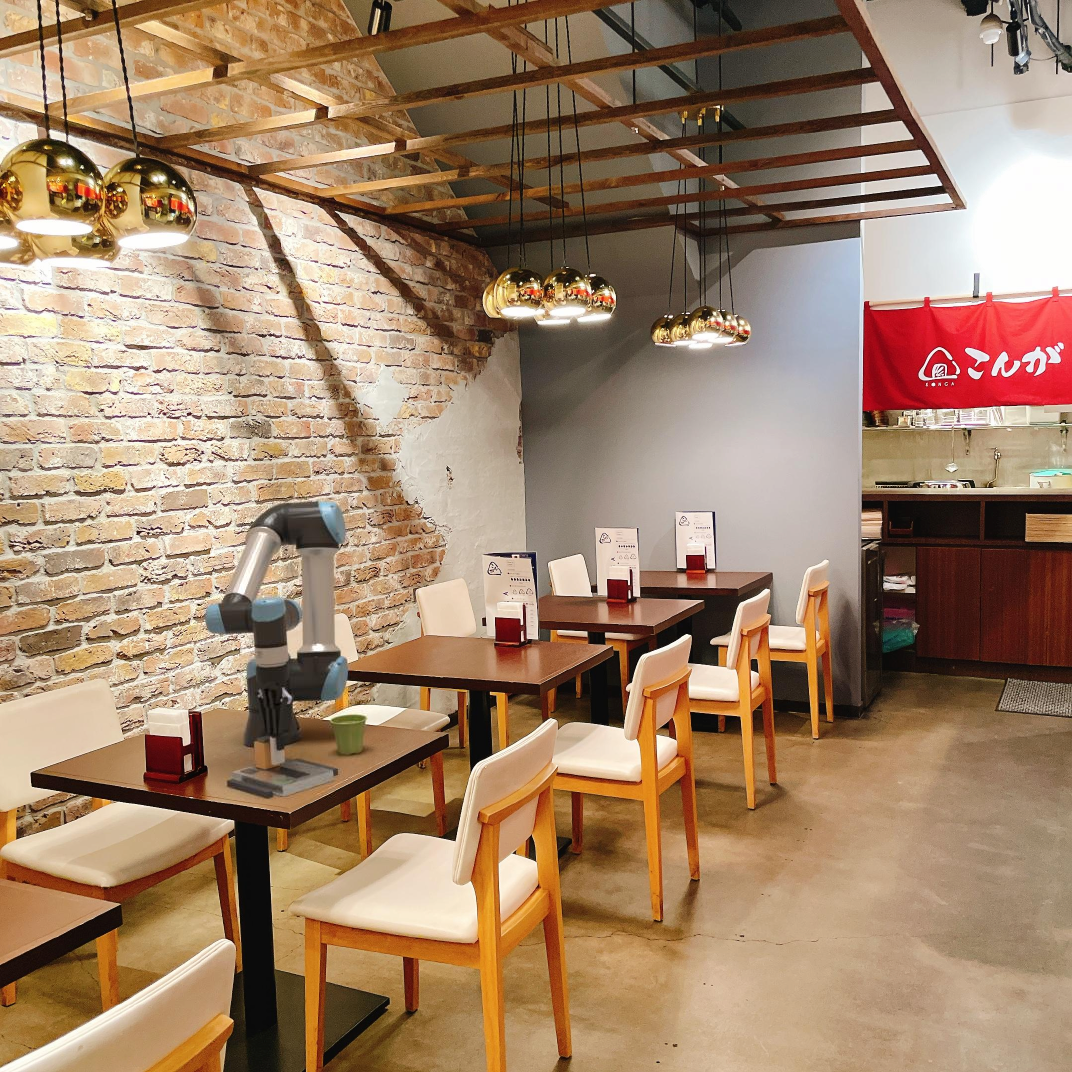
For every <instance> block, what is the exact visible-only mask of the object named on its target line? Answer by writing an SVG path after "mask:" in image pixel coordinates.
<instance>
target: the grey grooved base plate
mask: <svg viewBox="0 0 1072 1072" xmlns="http://www.w3.org/2000/svg"><path fill="white" fill-rule="evenodd" d="M292 760H294V761H298V762H302V763H306V764H310V765H314V766H318V767H322V768H326V769H330V770H333V777H334V776H337V775H339V769H338V767H334V766H329V765H325V764H321V763H319V762H318V763H317V762H314V761H313V762H312V761H309V760H305V759H301V758H294V759H292ZM226 787H229V788H232V789H235V790H238V791H241V792H245V793H248V794H251V795H254V796H257V797H262V798H264V799H270V798H273V797H274V794H273V791H272V790H269V789H265V788H262V787H258V786H255V785H251V784H248V783H244V782H241V781H238V780H234V779H232V778H230V779H227V780H226Z"/></svg>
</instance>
